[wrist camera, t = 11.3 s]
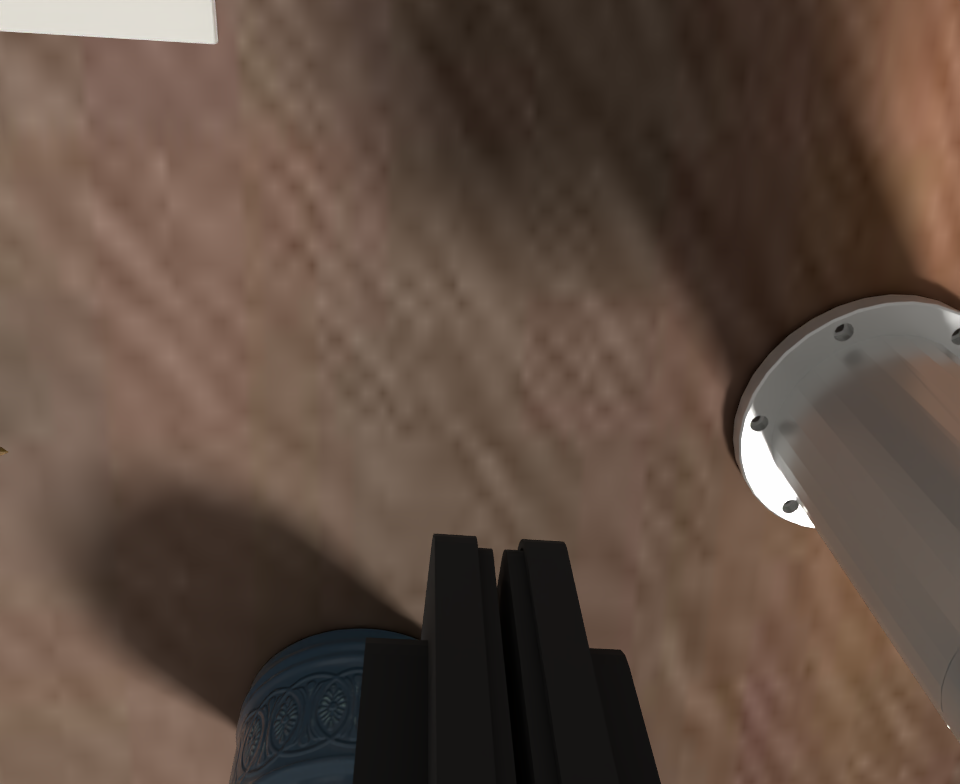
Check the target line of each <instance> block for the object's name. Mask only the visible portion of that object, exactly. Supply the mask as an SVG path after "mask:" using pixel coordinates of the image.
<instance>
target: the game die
mask: <svg viewBox="0 0 960 784" xmlns="http://www.w3.org/2000/svg"><path fill="white" fill-rule="evenodd" d="M6 453H8V451H6V450H5V449H3V448H2V447H0V456H1V455H3V454H6Z"/></svg>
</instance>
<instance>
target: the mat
mask: <svg viewBox="0 0 960 784" xmlns="http://www.w3.org/2000/svg"><path fill="white" fill-rule="evenodd" d="M0 31H8V32H25V33H41V34H57V35H74V36H90V37H107V38H123V39H140V40H156V41H172V42H189V43H205V44H216V43H217V42H218V33H217V20H216V8H215V0H0Z"/></svg>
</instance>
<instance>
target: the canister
mask: <svg viewBox="0 0 960 784" xmlns="http://www.w3.org/2000/svg"><path fill="white" fill-rule="evenodd" d="M366 637H369V638H389V639H410V640H417V639H415V638H412V637H409V636H406V635H403V634H399V633H395V632H390V631H385V630H378V629H343V630H336V631H330V632H325V633H321V634H317V635H314V636H311V637H308V638H305V639H303V640H300V641H298V642H296V643H294V644H292V645H290V646H288V647H287V648H285V649H283V650H282V651H280V652H279V653H278V654H276V655H275V656H274V657H273V658H271V659H270V660H269V661H268V662H267V663H266V664H265V665H264V667H263V668H262V669H261V670H260V672H259V673H258V674H257V676H256V678H255V679H254V681H253V684H252V686H251V689H250V691H249V692H248V694H247V696H246V698H245V700H244V702H243V705H242V708H241V711H240V716H239V721H238V724H237V730H236V745H237V747H236V752H235V757H234V762H233V766H232V771H231V776H230V781H229V784H352V783H353V772H354V761H355V750H356V739H357V728H358V717H359V707H360V696H361V685H362V674H363V663H364V652H365V642H366Z"/></svg>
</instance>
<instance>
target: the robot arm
mask: <svg viewBox="0 0 960 784" xmlns="http://www.w3.org/2000/svg"><path fill="white" fill-rule="evenodd" d="M733 444H734V452H735V459H736V462H737V464H738V467H739V469H740V472H741V474H742V476H743V478H744V480H745V481H746V483H747V484H748V486H749V488H750V489H751V491H752V493H753V494H754V495H755V497H756V498H757V499H758V500H759V501H760V502H761V503H762V504H763V505H764V506H765V507H766V508H767V509H769V510H770V511H771V512H773V513H774V514H776V515H777V516H779V517H781V518H782V519H785V520H788V521H790V522H793V523H795V524H798V525H801V526H805V527H811V528H815V529H816V530H817V532H818V533H819V535H820V536H821V538H822V539H823V541H824V542H825V544H826V545H827V547H828V548H829V550H830V551H831V553H832V554H833V556H834V557H835V559H836V560H837V561H838V563H839V564H840V566H841V567H842V569H843V570H844V572H845V573H846V575H847V576H848V578H849V579H850V581H851V582H852V584H853V585H854V587H855V588H856V590H857V591H858V593H859V594H860V596H861V597H862V599H863V600H864V602H865V603H866V605H867V606H868V608H869V609H870V611H871V612H872V614H873V615H874V617H875V618H876V620H877V621H878V623H879V624H880V626H881V627H882V629H883V630H884V632H885V633H886V635H887V636H888V638H889V639H890V641H891V642H892V644H893V645H894V647H895V648H896V650H897V651H898V653H899V654H900V656H901V657H902V659H903V660H904V662H905V663H906V665H907V666H908V668H909V669H910V671H911V672H912V674H913V675H914V677H915V678H916V680H917V681H918V683H919V684H920V686H921V687H922V689H923V690H924V692H925V693H926V695H927V696H928V698H929V699H930V701H931V702H932V704H933V705H934V707H935V708H936V710H937V711H938V713H939V714H940V716H941V717H942V719H943V720H944V721H945V723H946V724H947V726H948V727H949V728H950V730H951V731H952V733H953V734H954V736H955V737H956V739H957V740H958V741H959V743H960V311H959V310H957V309H955V308H953V307H951V306H949V305H947V304H945V303H943V302H941V301H938V300H934V299H930V298H925V297H921V296H917V295H895V294H889V295H882V296H876V297H869V298H863V299H860V300H857V301H853V302H850V303H847V304H844V305H841V306H838V307H835V308H833V309H831V310H829V311H827V312H825V313H823V314H821V315H819V316H817V317H815V318H813V319H811V320H810V321H809V322H807V323H806V324H804V325H803V326H801V327H800V328H798V329H797V330H796V331H794V332H793V333H791V334H790V335H788V336H787V337H786V338H785V339H784V340H783V341H782V342H781V343H780V344H779V345H778V346H777V347H776V348H775V349H774V350H773V351H772V352H771V353H770V354H769V355H768V356H767V357H766V359H765V360H764V361H763V362H762V364H761V365H760V366H759V368H758V369H757V370H756V372H755V373H754V374H753V376H752V378H751V380H750V381H749V383H748V385H747V387H746V389H745V391H744V393H743V395H742V397H741V400H740V403H739V406H738V410H737V413H736V416H735V421H734V433H733ZM352 784H661V782H660V779H659V775H658V771H657V767H656V764H655V760H654V756H653V753H652V749H651V745H650V742H649V738H648V734H647V731H646V727H645V723H644V720H643V716H642V712H641V709H640V705H639V701H638V697H637V694H636V690H635V686H634V683H633V679H632V675H631V672H630V668H629V665H628V662H627V659H626V657H625V655H624V653H623V652H622V651H621V650H614V649H593V648H589V645H588V641H587V636H586V632H585V627H584V623H583V618H582V614H581V609H580V605H579V600H578V596H577V591H576V587H575V582H574V578H573V573H572V569H571V564H570V560H569V556H568V551H567V547H566V544H565V543H564V542H560V541H544V540H528V539H522V540H521V541H520V543H519V547H518V550H504V552H503V556H502V561H501V567H500V573H499V579H498V585H497V586H496V576H495V566H494V557H493V550H492V549H487V548H478V544H477V538H476V536H463V535H447V534H434V535H433V539H432V547H431V555H430V564H429V573H428V581H427V590H426V599H425V607H424V616H423V625H422V633H421V640H410V639H389V638H369V637H366V642H365V652H364V663H363V674H362V685H361V696H360V707H359V717H358V728H357V739H356V750H355V761H354V772H353V783H352Z"/></svg>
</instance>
